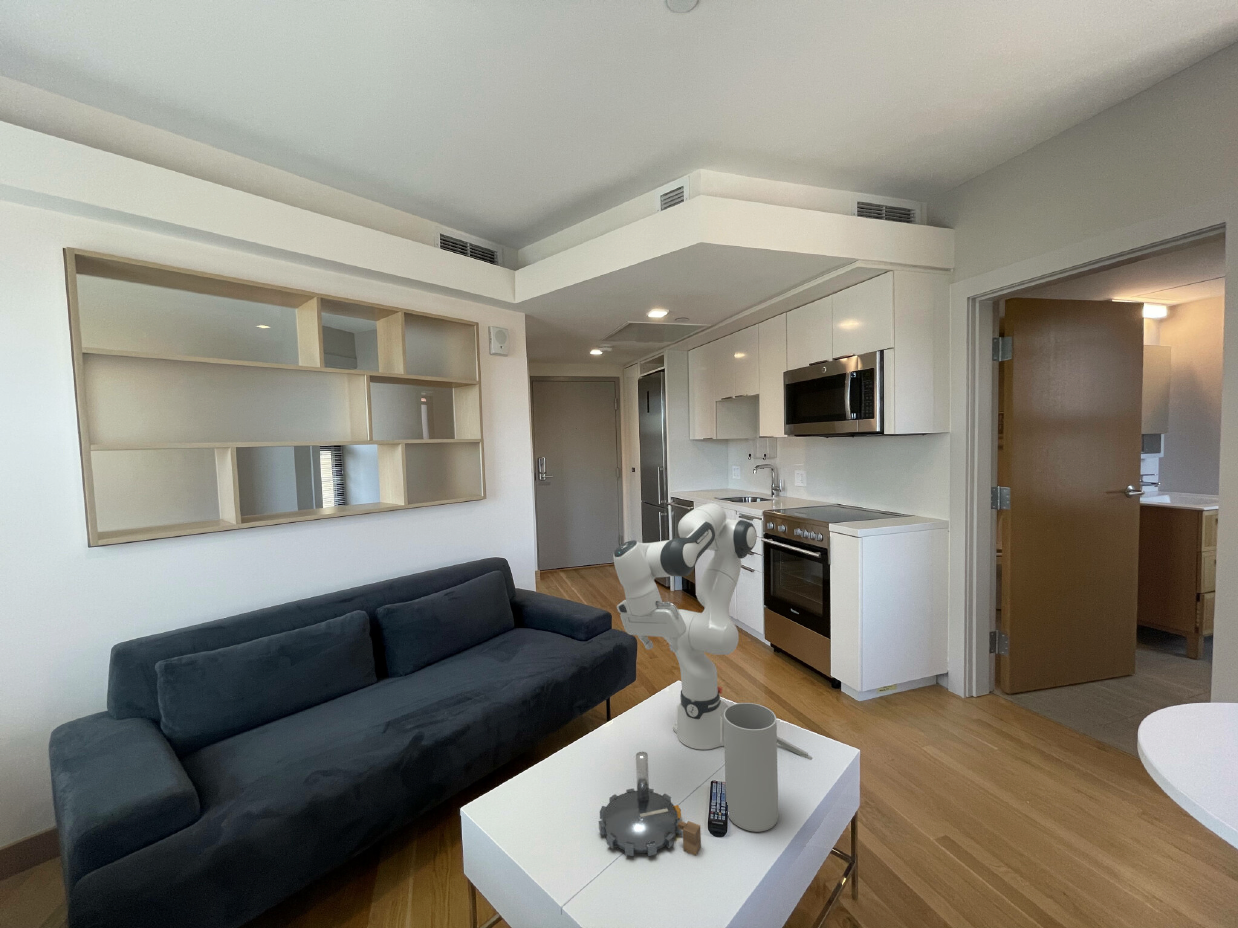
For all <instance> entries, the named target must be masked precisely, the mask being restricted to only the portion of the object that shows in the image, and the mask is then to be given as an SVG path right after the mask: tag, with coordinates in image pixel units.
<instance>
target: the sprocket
mask: <svg viewBox="0 0 1238 928" xmlns="http://www.w3.org/2000/svg"><path fill="white" fill-rule="evenodd" d="M635 764H636V765H635V766H636V767H635V768H636V769H635V770H636V771H635V772H636V790H635V788H628V789H626V790H625V792H624V793H621V794H619V795H617V794H613V795H612V796H610V797H609V799H608V800H609V802H608V803H607V805H606V806H605V805H602V806H601V808H600V809H599V819H601V820H599V821H598V830H599V834H600V835H605V836H606V844H607V845H608V846H609V847H610V848H611V849H615V848H616V847H617V848H618V849H621V850H623V851H624V855H625V856H631V857H634V856H635V853H637V854H638V853H639V854H640V853H641V854H644V853H645V854H646V853H647V856H648V857H649V856H655V855H657V854H658V850H661V849H662V848H663V847H664V848H665V847H667V848H668V849H669V848H671V847H672V846H674V844H676V841H675V836H676V834H682V832H683V830H681V829H678V823H679V821H682V822H683V820H682V819H680V818H682V811H681V808H680V806H679V805H678V804H676V805H674V804H673V802H672V797H671V796H670V795H668V794H666V793H663V794H659V793H658V792H654V788H650V785H649V784H650V782H649V776H650V775H649V755H648V752H646V751H639V752H636V754H635Z"/></svg>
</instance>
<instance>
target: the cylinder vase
mask: <svg viewBox="0 0 1238 928" xmlns="http://www.w3.org/2000/svg"><path fill="white" fill-rule="evenodd" d="M777 727H778V726H777V716H776V714H775V712H774V711H773V710H771V709H770V708H768V707H766V706H763V705H761V704H758V703H752V702H738V703H734V704H731V705H728V707H727V708H726V709H725V711H724V746H723V747H724V775H725V776H724V777H725V778H724V779H725V780H724V781H725V803H726V802H727V805H728V812H729V817H728V818H729V820H731V822H732V823H733V824H734V825H736V826H737V827H739V828H740V829H743V830H745V831H748V832H756V833H759V832H766V831H768V830H770V829H772V828H773V827H775V825H776V824H777V822H778V820H779V783H778V782H779V779H778V777H779V775H778V773H779V772H778V747H777V746H778V743H777V737H778V736H777V735H778V732H777Z"/></svg>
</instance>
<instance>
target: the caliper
mask: <svg viewBox="0 0 1238 928" xmlns="http://www.w3.org/2000/svg"><path fill="white" fill-rule="evenodd" d="M777 745H779V746H782V747H784V748H786V749H787V750H788V751H791V752H792V753H793V754H795V755H798V756H800V757H802V758H804V759H808V760H812V759H813V757H812V756H811V755H810V754H809V752H807V751H805V750H804V749H802V748H799V747H797V746H796V745H794V744H792V743H790V742H789V741H787V740H785V739H783V738H781V737H779V736H777Z"/></svg>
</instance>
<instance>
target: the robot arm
mask: <svg viewBox="0 0 1238 928" xmlns="http://www.w3.org/2000/svg"><path fill="white" fill-rule="evenodd" d="M755 527H756V526H754V524H753V523H752V522H750V521H747V520H744V519H732V518H727V513H726V511H725V509H723V507H721V506H720V505H719V504H716V503H714V502H711V503H705V504H702V505H700V506H697V507H696V508H693V509H692V510H690V511H689V512H687V513H686V514H685V515H684V516H683V517H682V518H681V519H680V520H679V522H678V525H677V533H678V536H679V537H677V538H673V539H669V540H667V539H666V540H661V541H654V542H639V541H637V540H635V539H633V540H628V541H626V542H623V543H622V544H619V546H617V547H616V548H615V550H614V552H613V555H612V556H613V564H614V568H615V573H616V574H617V577H618V580H619V583H620V584H621V586H622V588H623V590H624V597H625V599H624V600H622V601H621V602H620V603H618V604H617V605H616V609H617V612H618V613H620V615H619V616H620V621H621V623H622V625H623V626H622V627H623V628H624V630H625V632H626V633H627V634H628V635H631V636H637V637H638V639H639V640H640V642H642V644H643V645H644V647H645V650H652V649H653V648H654V644H653V641H652V640H650V639H649V637H659V638H662V639H664V640H665V641H666V642H667V643H668V644H669V645H668V647H669V649H670V652H673V653H674V655H675V656H676V659H677V661H678V665H679V669H680V670H679V671H680V679H681V681H680V682H681V690H680V694H679V695H680V697H679V699H680V703H679V704H678V705H677V708H676V709H677V710H676V711H677V712H676V723H675V724H674V725H673V726H672V728H673V729H672V730H673V731H674V733H676V734H677V738H678V740H679V741H680V742H681V744H683V745H685V746H687V747H688V748H691V749H694V750H695V749H696V750H712V749H716V748H719V747H724V711H725V709H726V708H727V707H729V705H728V704H727V703H726V702H724V701H723V700H721V695H720V694H722V693H723V687H722V686H718V671H717V667H716V664H714V662H713V661H712V660H711V659H710V658H709V657H708V656H707V655H706V654H705V653H707V654H712V655H719V656H723V655H724V656H726V655H727V656H728V655H730V654H732V653H733V652H734V651H735V650H736V648H737V646H738V644H739V641H740V640H739V638H740V637H739V635H740V634H739V631H738V627H737V626H736V624H735V623H734V622H733V620H732V619H731V618H732V617H731V616H730V603H731V602H732V601H731V600H732V597H733V594H734V592H735V590H736V588H737V585H738V582H739V577H740V575H741V574H740V573H741V568H742V560H741V559H745V558H746V557H747V555H749V554H750V553H751V552H752V551H753V550H754V548H755V545H756V542H757V530H756V528H755ZM707 550H709V551H713V552H714V555H713V557H712V558H711V559H710V561H709V562H708V564H707V566H706V569H704V573H703V574H702V577H701V579H700V582H699V584H698V586H697V588H696V593H695V594H696V598H697V601H698V602H699V603H700V605H701V606H702V607H704V608H703V611H702V612H696V611H692V610H687V609H680V608H679V609H678V608H677V606H676V605H675V604H673V603H672V602H671V601H670V600H669V601H668V600H666V601H663V599H662V596H661V594H660V591H659V589H658V586H657V584H656V581H655V579H657V578H665V577H666V578H667V577H687V576H689V575H691V574H692V572H693V571H694V569H695V567H696V565H697V562H698V560H699V559H700V558H701V556H702V555H703V554H704V553H705V552H706V551H707Z"/></svg>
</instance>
